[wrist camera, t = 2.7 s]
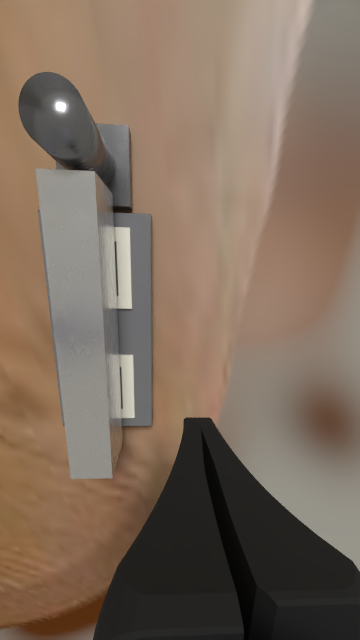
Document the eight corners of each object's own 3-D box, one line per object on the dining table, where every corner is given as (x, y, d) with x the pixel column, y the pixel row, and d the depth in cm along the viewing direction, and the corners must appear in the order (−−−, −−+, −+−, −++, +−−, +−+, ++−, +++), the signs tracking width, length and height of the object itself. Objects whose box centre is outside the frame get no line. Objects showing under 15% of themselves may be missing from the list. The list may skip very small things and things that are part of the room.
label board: (152, 418, 21) (151, 428, 19) (68, 418, 20) (61, 428, 19) (151, 217, 16) (150, 213, 15) (46, 213, 16) (35, 208, 15)
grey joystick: (132, 209, 16) (110, 176, 10) (65, 206, 16) (5, 171, 10) (130, 132, 15) (104, 47, 9) (58, 128, 15) (-14, 38, 9)
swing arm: (122, 441, 19) (112, 478, 16) (88, 442, 19) (70, 478, 16) (112, 193, 14) (94, 171, 11) (66, 191, 14) (35, 168, 11)
